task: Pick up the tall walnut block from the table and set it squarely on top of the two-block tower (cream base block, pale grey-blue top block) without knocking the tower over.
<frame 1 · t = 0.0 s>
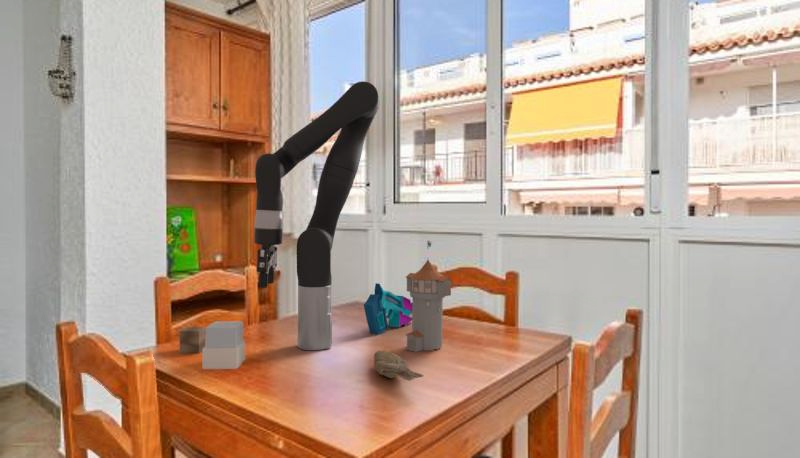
hand: (266, 285, 138), 17 cm above the table, tool pointing down, fingers open, 8 cm apart
tower top: (224, 344, 122), point 5 cm above the table, touching tower base
walnut block: (192, 351, 134), on the table
tower base: (224, 364, 122), on the table, touching tower top
sculpture: (393, 381, 112), on the table
model building: (425, 347, 140), on the table
toy gun: (390, 329, 163), on the table
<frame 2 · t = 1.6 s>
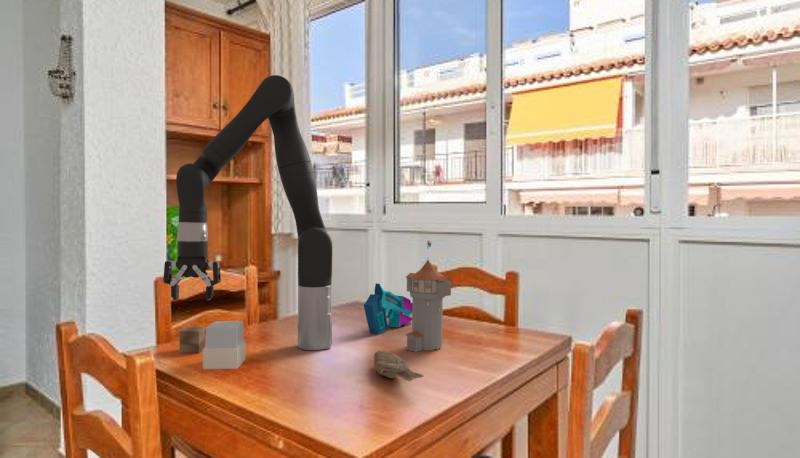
hand: (192, 299, 133), 14 cm above the table, tool pointing down, fingers open, 8 cm apart
nothing on the table moved.
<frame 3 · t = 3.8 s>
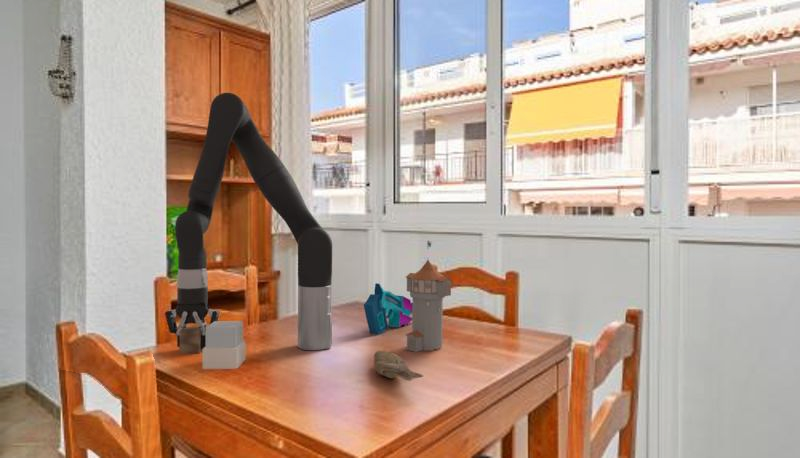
hand: (192, 348, 134), 1 cm above the table, tool pointing down, fingers closed on walnut block, 5 cm apart
walnut block: (192, 351, 134), on the table, touching gripper
everything else where it was.
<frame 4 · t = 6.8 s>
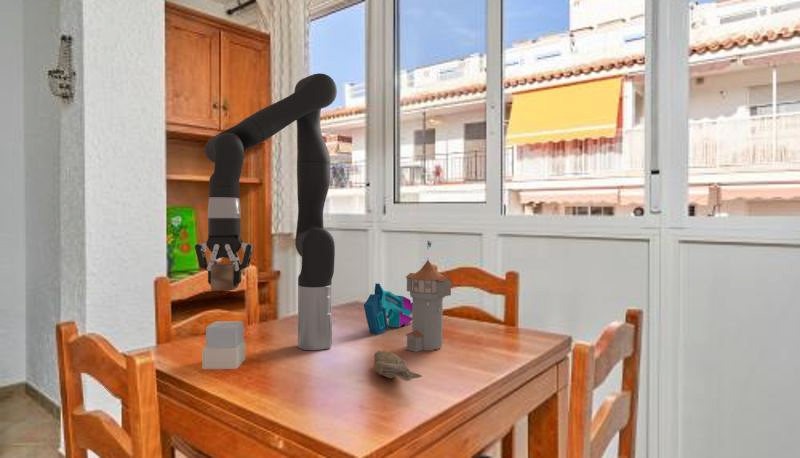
hand: (224, 285, 122), 19 cm above the table, tool pointing down, fingers closed on walnut block, 5 cm apart
walnut block: (224, 288, 122), point 19 cm above the table, touching gripper
everything else where it was.
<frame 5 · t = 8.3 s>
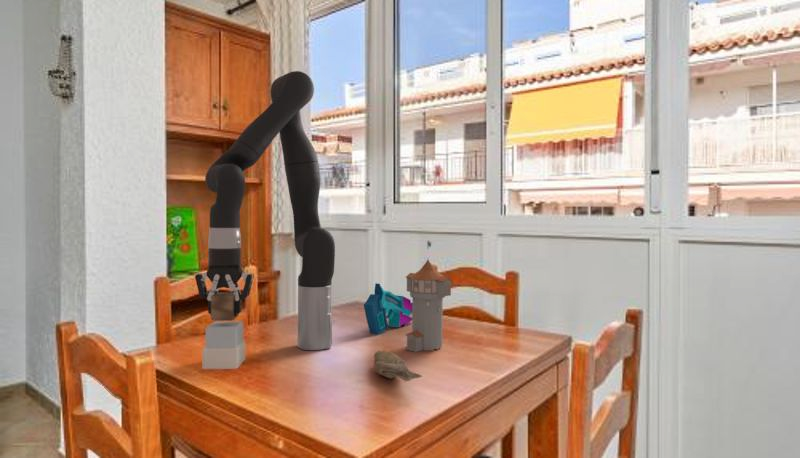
hand: (224, 315, 122), 12 cm above the table, tool pointing down, fingers closed on walnut block, 5 cm apart
tower top: (224, 344, 122), point 5 cm above the table
walnut block: (224, 318, 122), point 11 cm above the table, touching gripper
tower base: (224, 364, 123), on the table
everything else where it was.
when the fingers open (12 cm above the table, at t = 9.0 s): walnut block drops 1 cm, resting on tower top.
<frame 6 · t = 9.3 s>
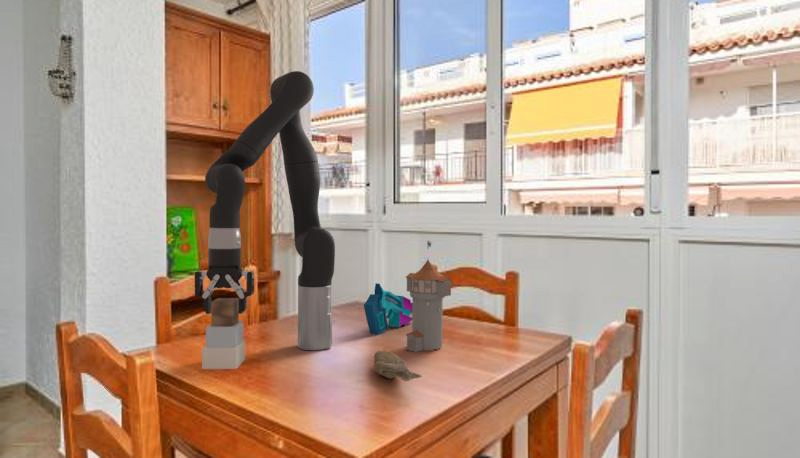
hand: (224, 313, 122), 13 cm above the table, tool pointing down, fingers open, 7 cm apart
tower top: (225, 344, 122), point 5 cm above the table, touching tower base, walnut block
walnut block: (225, 324, 122), point 10 cm above the table, touching tower top
tower base: (224, 364, 122), on the table, touching tower top
everything else where it was.
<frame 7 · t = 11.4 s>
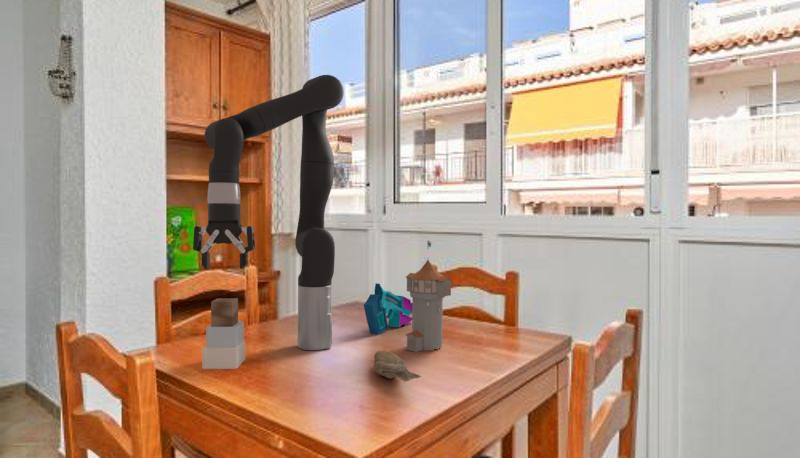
hand: (224, 268, 122), 24 cm above the table, tool pointing down, fingers open, 8 cm apart
nothing on the table moved.
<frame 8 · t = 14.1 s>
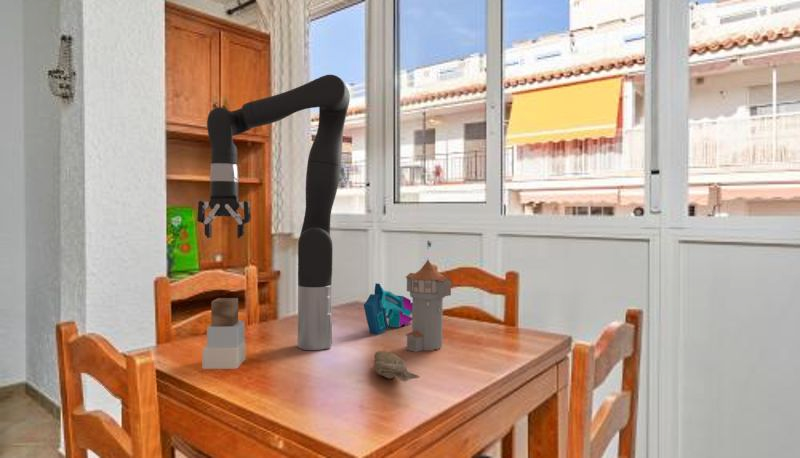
hand: (224, 237, 141), 30 cm above the table, tool pointing down, fingers open, 8 cm apart
nothing on the table moved.
at the end: walnut block 0.4 cm off-centre on the tower top, point 5.0 cm above the tower top's base; tower top moved 0.6 cm from its start; walnut block tilted 0° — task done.
